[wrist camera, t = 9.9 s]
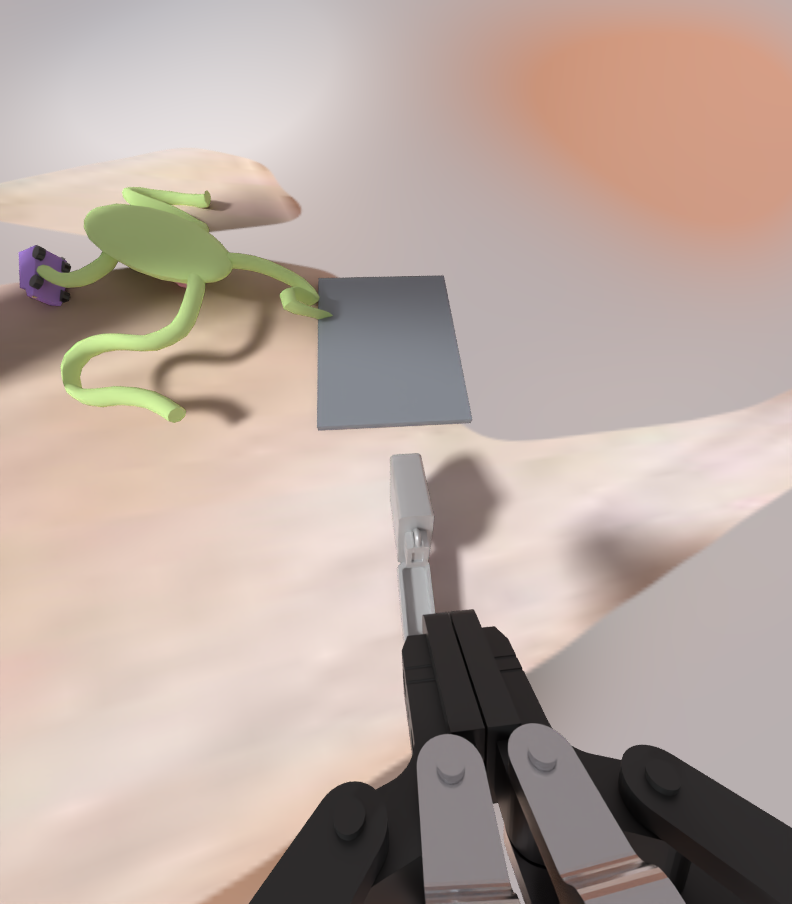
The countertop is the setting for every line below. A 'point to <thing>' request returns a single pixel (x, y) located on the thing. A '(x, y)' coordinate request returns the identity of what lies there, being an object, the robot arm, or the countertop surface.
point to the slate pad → (388, 354)
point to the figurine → (158, 255)
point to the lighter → (412, 539)
